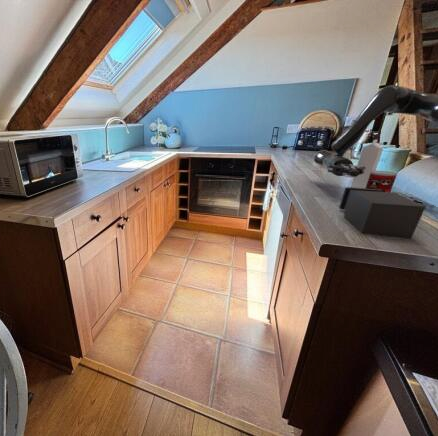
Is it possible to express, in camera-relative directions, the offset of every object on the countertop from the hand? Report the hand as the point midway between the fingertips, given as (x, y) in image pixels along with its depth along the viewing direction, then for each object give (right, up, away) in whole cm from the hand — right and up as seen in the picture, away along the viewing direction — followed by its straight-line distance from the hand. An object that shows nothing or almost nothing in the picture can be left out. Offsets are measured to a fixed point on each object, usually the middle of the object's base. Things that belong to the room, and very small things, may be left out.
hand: (355, 173), depth 91 cm
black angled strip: (-4, -15, -6) cm, 17 cm away
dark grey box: (-7, -19, -15) cm, 25 cm away
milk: (+25, -2, +27) cm, 37 cm away
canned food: (+17, -8, +11) cm, 22 cm away
